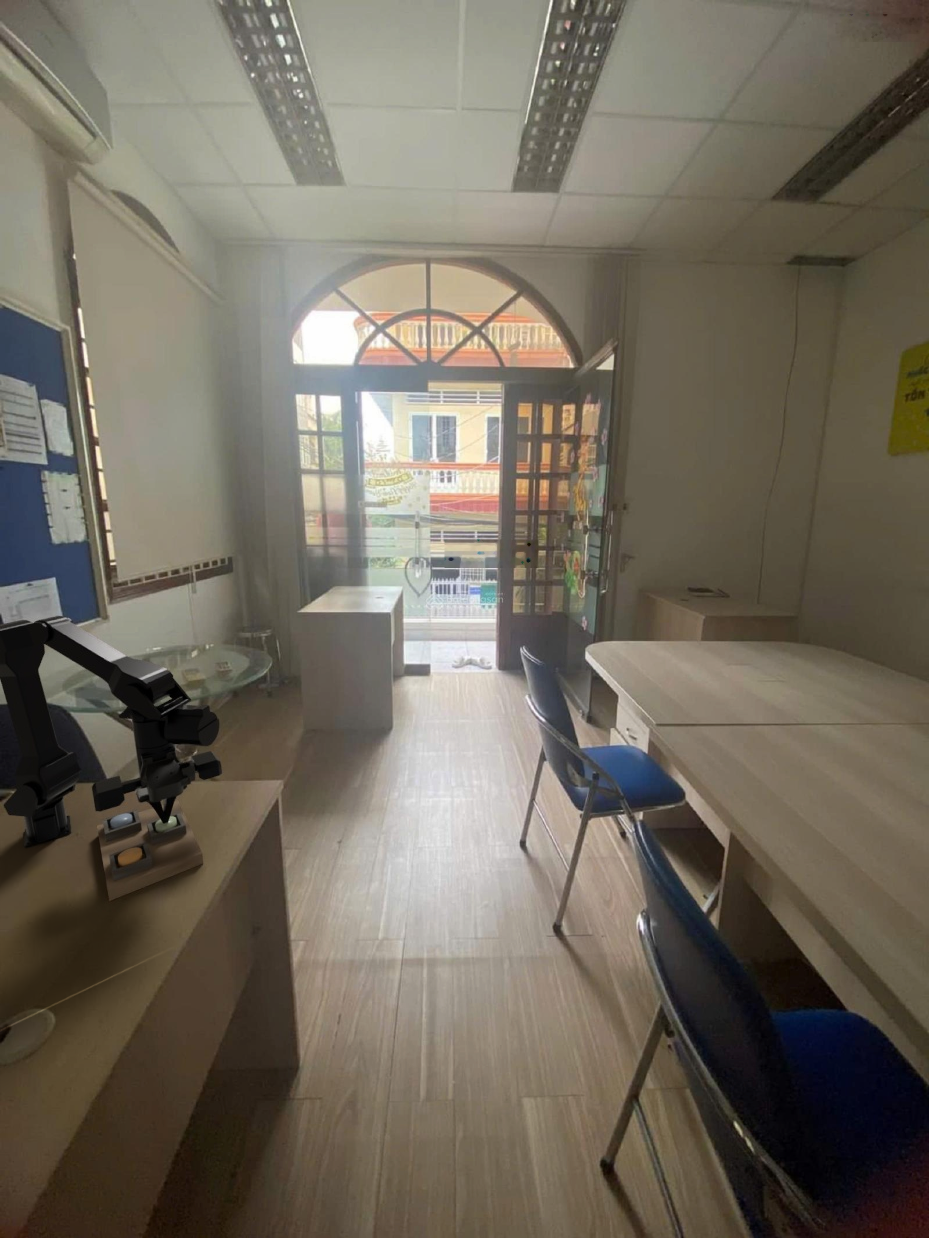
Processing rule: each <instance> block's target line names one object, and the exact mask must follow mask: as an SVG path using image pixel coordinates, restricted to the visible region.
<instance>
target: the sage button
mask: <svg viewBox="0 0 929 1238" xmlns="http://www.w3.org/2000/svg"><path fill="white" fill-rule="evenodd" d="M155 826H156V833H160V832H163V831H166V830H168V829H171V828H174V827H177V821H176V818H175V817H173V816H170V818H169V822H167V823H164V824H163V823H162V821H161V819H160V820H158V821H157V822H156V824H155Z"/></svg>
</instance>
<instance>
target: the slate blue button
mask: <svg viewBox="0 0 929 1238" xmlns="http://www.w3.org/2000/svg"><path fill="white" fill-rule="evenodd" d="M124 813H125V812H124ZM119 814H120V815H119ZM119 814H117V815H118V816H116V815H115V816H116V817H114V818H112V819H111V821H110V823H111V830H113V829H116V828H119V827H123V826H126V825H129V824H132V823H133V820H132V815H131V814H129V813H125V814H122V813H119Z"/></svg>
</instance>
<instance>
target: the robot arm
mask: <svg viewBox="0 0 929 1238" xmlns="http://www.w3.org/2000/svg"><path fill="white" fill-rule="evenodd" d="M45 645H46V646H48V647H49V648H50V649H52V650H54V651H55V652H56V653H59V654H60V655H62V656H63V657H65V658H67V659H68V660H70V661H72V662H74V663H75V664H77V665H79V666H80V667H82V668H83V669H85V670H86V671H88V672H90V673H92V674H94V675H95V676H97V677H99V678H100V679H101V680H103V681H104V682H105V683H106V684H108V687H109V689H110V693H111V694H112V696H114V697H115V698H116V699H117V700H118V701H120V702H121V703H122V704H123V705H125V706H126V707H125V709H124V710H122V712H120V713H119V714H118V718H119V719H120V720H121V719H124V720H131V724H132V731H133V738H134V747H135V754H136V760H137V769H138V774H139V775H138V776H139V777H137V778H133V779H131V780H125V781H123V782H122V780H121V777H120V775H117V776H112V777H109V778H105V779H102V780H98V781H95V782H94V783H93V785H92V786H91V791H92V797H93V804H94V809H95V810H94V811H95V812H104V811H107V810H110V809H113V808H117V807H120V806H121V805H122V803H124V802H125V799H126V798H125V794H129V793H132V792H134V793H135V795H136V798H137V801H138V803H139V804H140V803H147V804H149V805H150V806H151V807H152V808H154V810H155V811H156V813H157V814H158V816H159V818H160V819H161V821H162V823H163V824H164V823H167V822H169V818H170V815H171V812H172V808H173V805H174V802H175V801H176V799H177V797H179V796H181V795H182V794H183V793H184V791H185V790H186V789H187V788H188V786H189V785H192V782H195V781H196V774H197V777H198V778H199V779H201V780H203V781H206V780H210V779H213V778H216V777H219V776H221V775H222V774H223V769H222V763H221V761H220V759H219V757H218V755H217V754H216V753H215V752H213V751H211V750H209V751H205V752H202V753H201V752H200V753H198V754H195V755H194V754H193V755H191V756H190V760H187V761H185V762H184V761H180V760H179V758H178V756H177V748H176V745H179V746H180V745H182V746H196V747H198V746H199V747H209V746H211V745H212V744H213V743H214V742H215V741H216V739H217V738H218V735H219V731H220V719H219V718H218V716H217V714H216V713H215V712H214V711H211V710H210V709H211V708H210V705H208V704H199V705H193V704H190V702H192V699H191V698H190V696H189V695H188V694H187V692H186V691H185V690H184V689H183V688H182V687H181V685H180V684H179V683H178V682H177V680H176V679H175V678H174V674H173V673H172V672H171V670H169V669H167V668H166V667H163V666H162V665H159V664H156V663H155V662H152V661H148V660H143V659H142V660H141V659H136V658H133V657H130V656H127V655H126V654H124V653H122V652H121V651H119V650H117V649H116V648H114V647H113V646H111V645H109V644H108V643H106V642H104V641H103V640H101V639H99V638H98V637H97V636H95V635H93V634H91V633H90V632H87V631H86V630H84V629H83V628H81V627H80V626H78V625H76V624H75V623H74V622H73V620H72V619H71V618H69V617H68V616H63V615H55V616H52V617H46V618H42V619H38V620H35V621H34V622H32V621H30V620H28V619H21V620H15V621H9V622H7V623H6V622H5V623H0V684H1V687H2V690H3V694H4V697H5V700H6V701H5V702H6V704H7V709H8V711H9V715H10V719H11V722H12V726H13V730H14V733H15V736H16V739H17V744H18V747H19V750H20V754H21V756H20V757H21V758H20V760H19V762H18V766H17V767H16V770H15V774H14V780H15V781H14V782H15V789H16V790H15V791H14V792H13V793H12V794H11V796H10V797H9V798H8V799H7V800H6V801H5V802H4V803H3V808H4V809H5V811H6V813H7V815H8V816H11V817H12V816H15V817H23V820H24V825H25V829H24V837H23V838H24V839H23V841H24V842H23V846H24V848H25V849H26V848H30V847H33V846H36V845H40V844H42V843H46V842H48V841H52V840H55V839H58V838H62V837H64V836H67V835H70V834H72V823H71V816H70V815H67V811H66V806H65V800H64V797H65V796H67V795H69V794H70V793H73V792H74V791H75V788H76V785H77V782H78V781H79V779H80V772H82V769H81V767H80V765H79V763H78V762H79V761H78V756H77V753H76V752H74V751H71V752H68V751H66V750H65V749H63V747H61V746H60V745H59V743H58V739H57V736H56V732H55V728H54V725H53V721H52V716H51V714H50V709H49V706H48V703H47V698H46V694H45V690H44V687H43V683H42V680H41V676H40V673H39V669H40V667H41V664H42V661H43V658H44V656H45V653H46V649H45ZM167 698H170V699H169V700H166V701H165V702H163V703H161V704H159V705H155V704H157V703H159V702H161V701H162V700H165V699H167ZM162 805H163V808H162Z"/></svg>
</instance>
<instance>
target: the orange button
mask: <svg viewBox="0 0 929 1238" xmlns="http://www.w3.org/2000/svg"><path fill="white" fill-rule="evenodd" d="M142 859H143V856H142V849H141V848H138V847H135V848H130V849H127V850H125V851H123V852H122V853H120V855H119V856H118V862H119V868H120V867H123V866H126V865H129V864H131V863H134V862H137V861H139V860H142Z"/></svg>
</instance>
